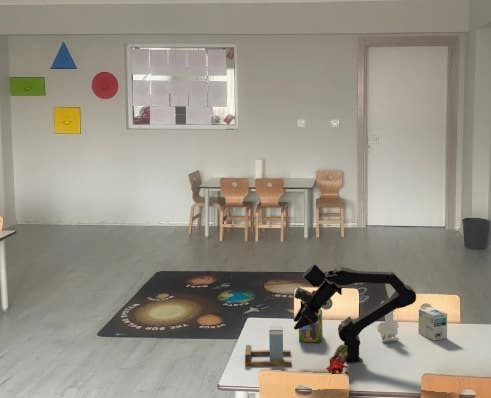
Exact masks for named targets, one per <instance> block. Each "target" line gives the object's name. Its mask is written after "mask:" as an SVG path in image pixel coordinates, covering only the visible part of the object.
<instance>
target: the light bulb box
mask: <svg viewBox="0 0 491 398" xmlns="http://www.w3.org/2000/svg"><path fill="white" fill-rule="evenodd" d="M417 333H418V334H420V335H421V336H424V337H426V338H428V339H430V340H431V341H441V340H446V339H448V313H447V312H444V311H442V310H440V309H437V308H435V307H433V306H429V307H428V306H427V307H420V308H418V332H417Z"/></svg>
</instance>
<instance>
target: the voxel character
mask: <svg viewBox="0 0 491 398" xmlns="http://www.w3.org/2000/svg"><path fill="white" fill-rule="evenodd" d="M384 301H385V300H382V301H381V302H380V303H379V304H381V303H383V302H384ZM394 312H395V310H393V311H392V312H390V313H388V314H387V315H385V316H384V319H385V322H380V323H379V324H378V325H377V326H376V328H377V332H378V333H380V337H381V340H383V343H390V342H398V341H399V340H400V339H399V338H400V337H397V335H398V334H399V330H398V328H399V324H398V321H395V320H394V317H395V315H394Z"/></svg>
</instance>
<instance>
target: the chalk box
mask: <svg viewBox="0 0 491 398" xmlns="http://www.w3.org/2000/svg"><path fill="white" fill-rule="evenodd" d="M323 332H324V331H323V309H322V308H321V309H320V310H319V313H318V321H317V322H316V323H315V324H310V325H307V326H305V327H302V328H299V329H298V342H299V343H320V344H321V343H322V341H323V334H324V333H323Z"/></svg>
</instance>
